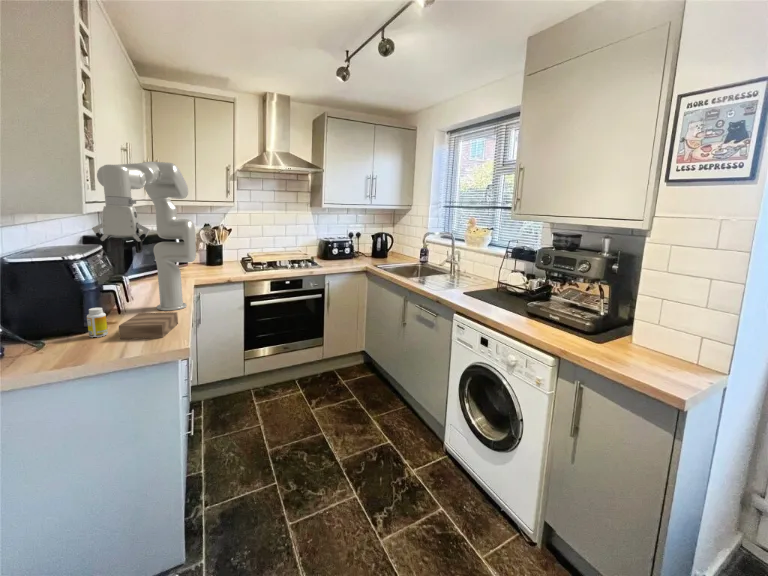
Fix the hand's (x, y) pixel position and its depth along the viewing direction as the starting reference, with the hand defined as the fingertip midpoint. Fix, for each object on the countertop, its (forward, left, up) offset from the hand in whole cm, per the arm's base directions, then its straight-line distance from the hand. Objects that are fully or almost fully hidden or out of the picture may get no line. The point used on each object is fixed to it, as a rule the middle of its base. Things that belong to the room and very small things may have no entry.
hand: (123, 252), depth 131 cm
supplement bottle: (-3, -12, -31) cm, 34 cm away
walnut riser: (-7, +4, -31) cm, 32 cm away
